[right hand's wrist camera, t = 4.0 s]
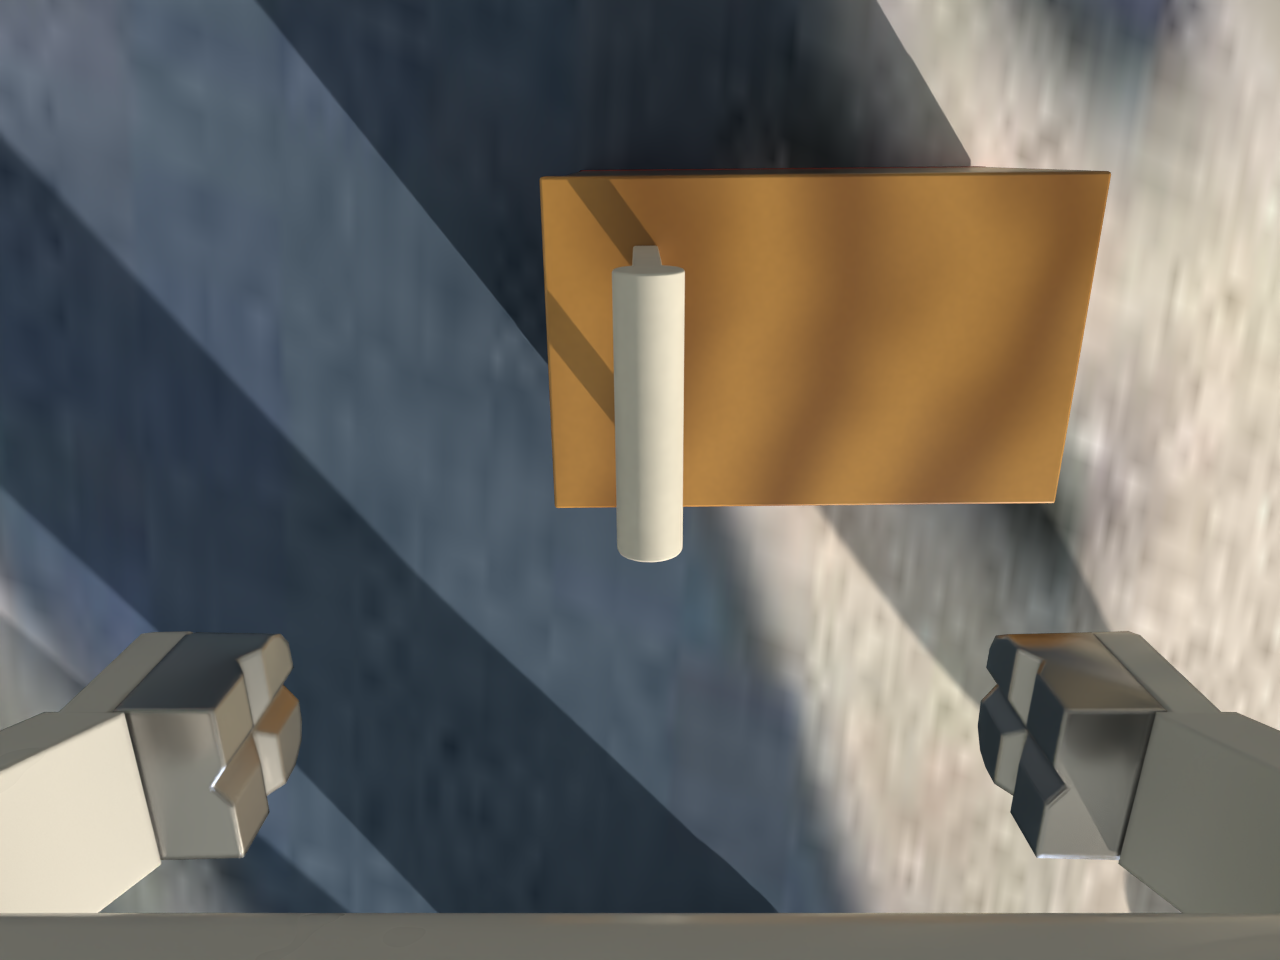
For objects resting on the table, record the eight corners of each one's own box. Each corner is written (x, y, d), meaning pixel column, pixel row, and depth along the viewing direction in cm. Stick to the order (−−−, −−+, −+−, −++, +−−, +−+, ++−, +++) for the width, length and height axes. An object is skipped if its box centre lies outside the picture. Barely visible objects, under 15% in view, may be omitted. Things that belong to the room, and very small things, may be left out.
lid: (557, 498, 28) (526, 629, 20) (542, 175, 24) (498, 185, 17) (1042, 493, 28) (1198, 623, 20) (1096, 170, 24) (1309, 177, 17)
